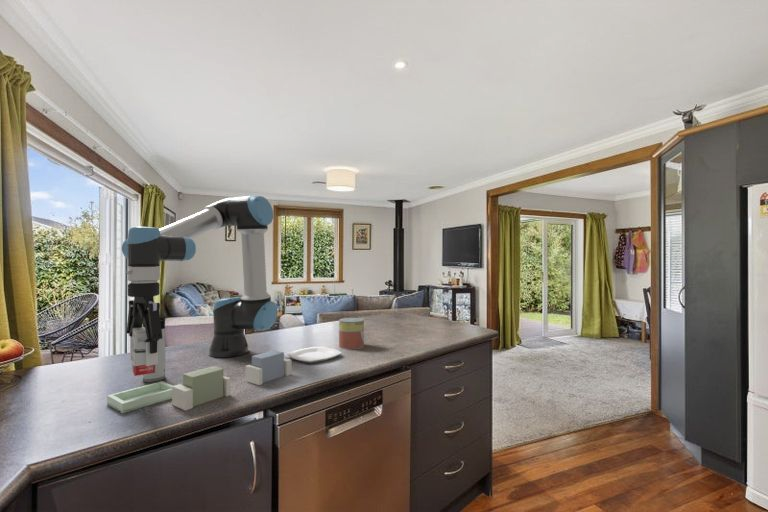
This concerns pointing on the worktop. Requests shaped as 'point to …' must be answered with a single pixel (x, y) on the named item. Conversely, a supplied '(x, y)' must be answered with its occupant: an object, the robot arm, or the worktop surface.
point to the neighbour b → (270, 364)
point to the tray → (140, 397)
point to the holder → (184, 395)
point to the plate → (314, 354)
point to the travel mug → (160, 366)
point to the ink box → (140, 353)
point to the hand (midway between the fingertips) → (143, 361)
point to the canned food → (351, 333)
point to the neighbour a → (205, 384)
